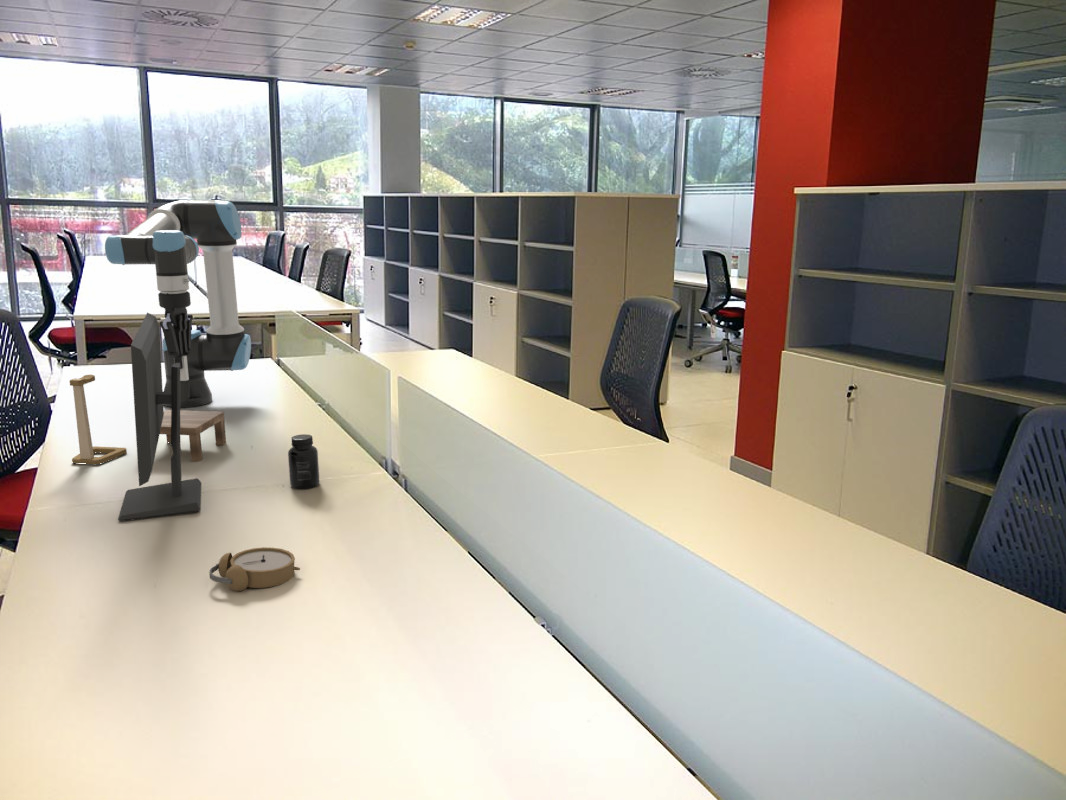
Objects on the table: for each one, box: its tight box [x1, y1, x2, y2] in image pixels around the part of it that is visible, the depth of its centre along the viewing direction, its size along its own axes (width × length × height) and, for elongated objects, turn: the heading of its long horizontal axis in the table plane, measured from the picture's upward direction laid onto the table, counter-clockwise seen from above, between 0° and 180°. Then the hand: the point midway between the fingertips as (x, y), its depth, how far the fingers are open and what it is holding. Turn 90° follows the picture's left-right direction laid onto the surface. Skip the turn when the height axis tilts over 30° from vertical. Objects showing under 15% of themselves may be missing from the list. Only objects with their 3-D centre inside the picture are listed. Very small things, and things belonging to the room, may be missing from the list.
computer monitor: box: [117, 312, 202, 522], centre depth 180 cm, size 44×16×40 cm, turn 21°
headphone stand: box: [69, 374, 128, 465], centre depth 212 cm, size 10×11×22 cm
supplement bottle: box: [287, 434, 320, 490], centre depth 196 cm, size 7×7×12 cm
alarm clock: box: [209, 547, 301, 592], centre depth 150 cm, size 11×5×15 cm
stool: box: [159, 409, 227, 462], centre depth 221 cm, size 9×16×16 cm
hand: (182, 379), depth 220 cm, fingers closed
